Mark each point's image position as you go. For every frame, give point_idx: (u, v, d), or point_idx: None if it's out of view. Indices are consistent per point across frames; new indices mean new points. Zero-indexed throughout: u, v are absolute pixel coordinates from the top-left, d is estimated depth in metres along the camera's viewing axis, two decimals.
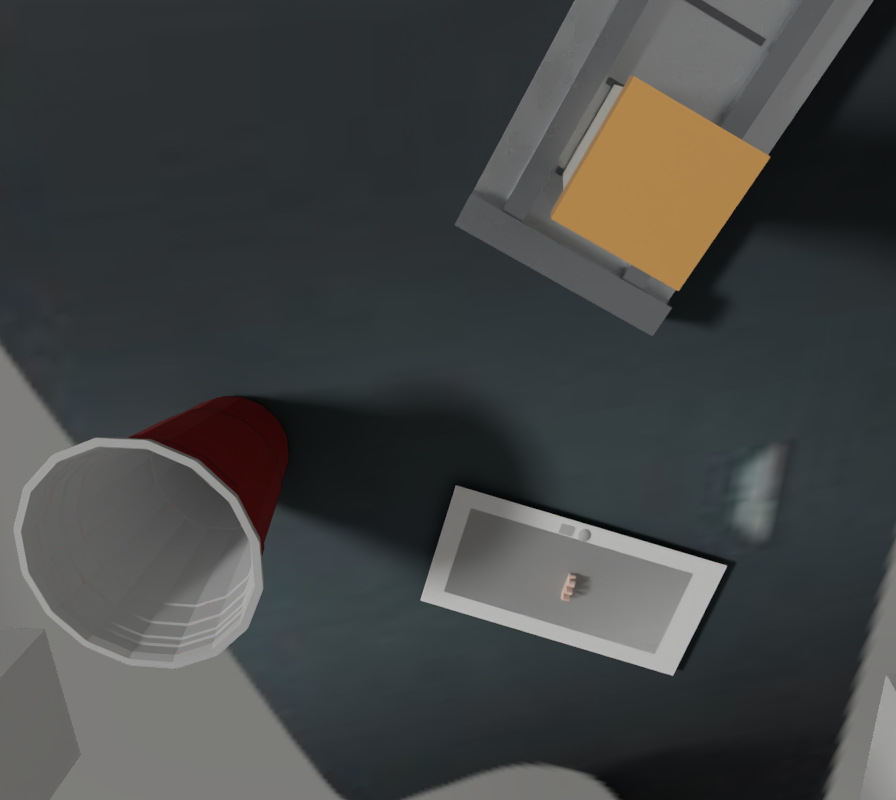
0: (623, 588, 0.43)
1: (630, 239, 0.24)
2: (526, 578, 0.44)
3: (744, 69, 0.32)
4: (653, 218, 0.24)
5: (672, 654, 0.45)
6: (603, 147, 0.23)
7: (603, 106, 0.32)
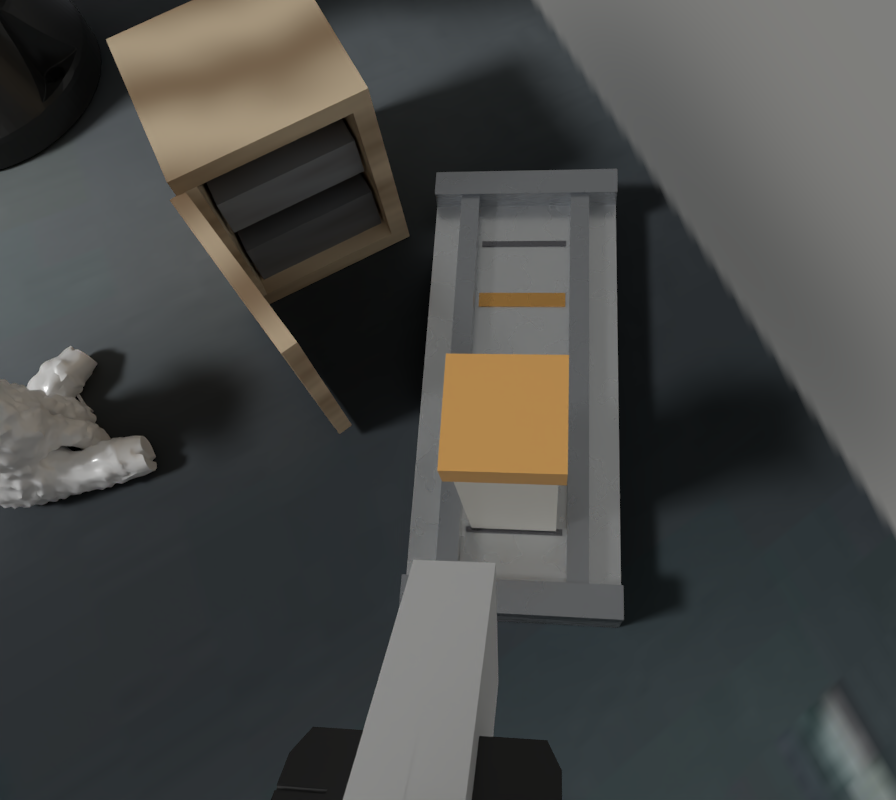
0: None
1: (506, 455, 0.28)
2: None
3: None
4: (514, 432, 0.29)
5: None
6: (449, 404, 0.29)
7: None
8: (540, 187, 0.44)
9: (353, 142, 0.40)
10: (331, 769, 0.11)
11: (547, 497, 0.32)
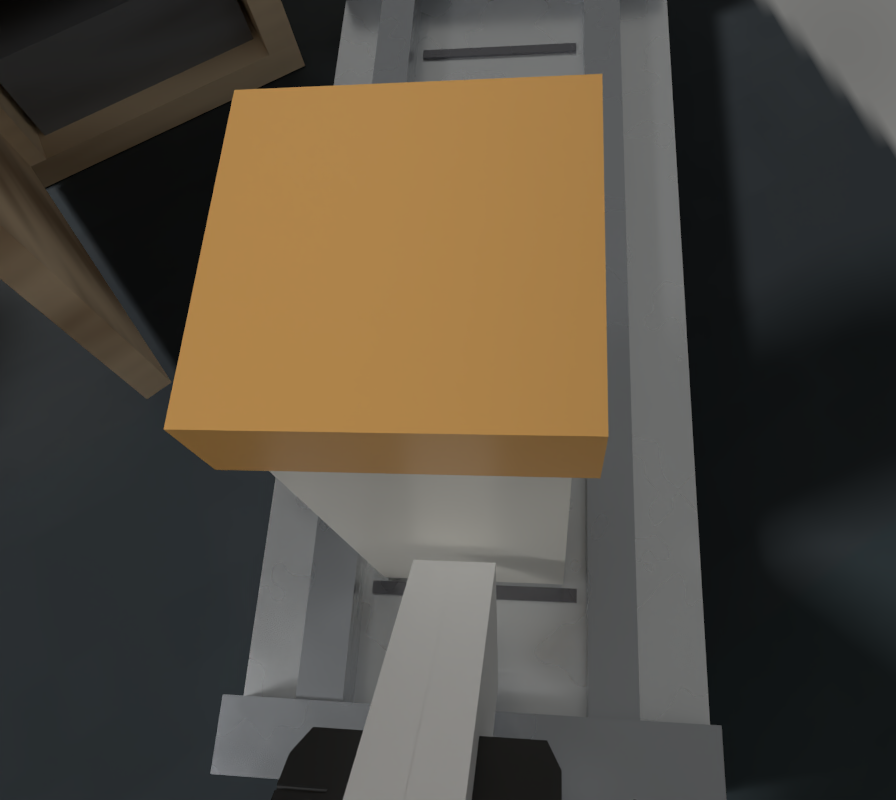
0: None
1: (396, 375, 0.08)
2: None
3: None
4: (425, 303, 0.09)
5: None
6: (229, 226, 0.09)
7: None
8: None
9: None
10: (331, 769, 0.11)
11: (541, 513, 0.12)
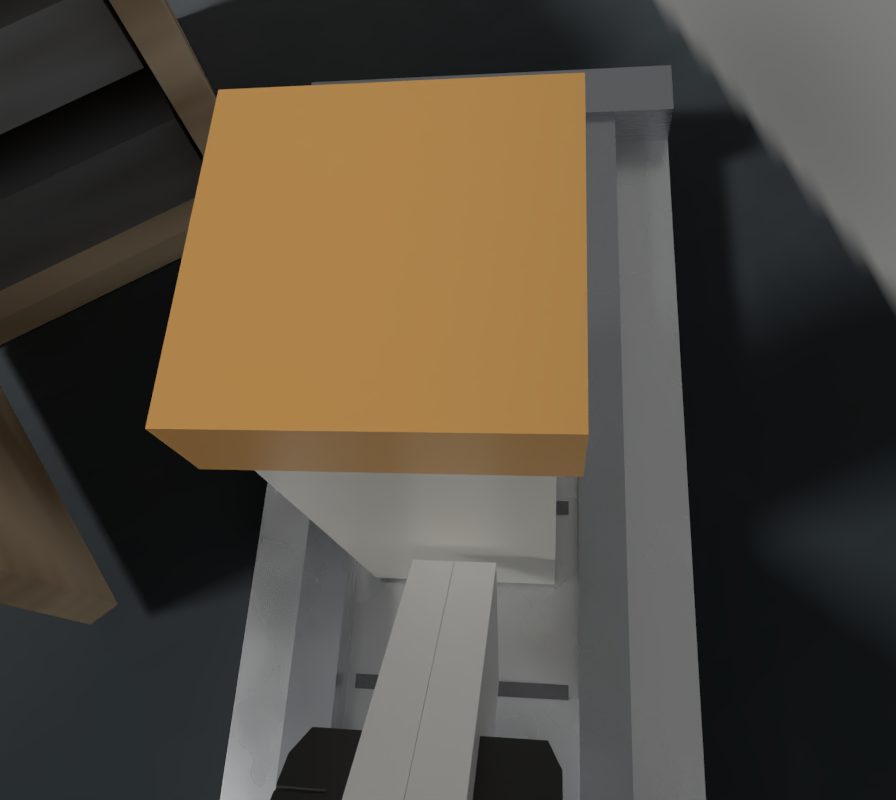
0: None
1: (377, 374, 0.08)
2: None
3: (565, 556, 0.18)
4: (407, 301, 0.09)
5: None
6: (212, 225, 0.09)
7: None
8: None
9: None
10: (330, 769, 0.11)
11: (529, 512, 0.12)
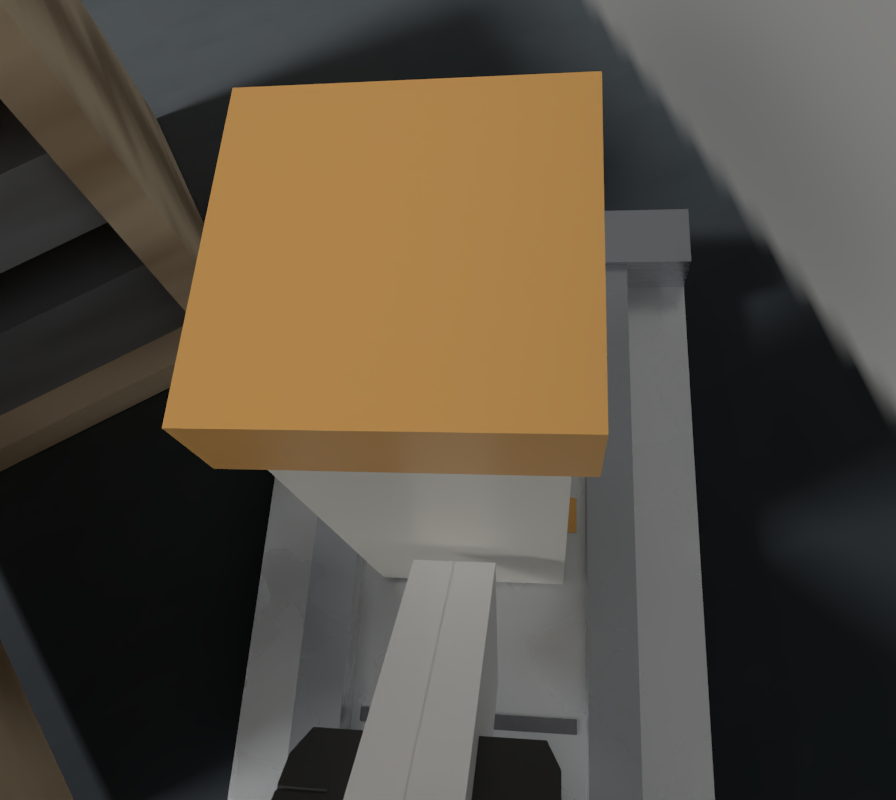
0: None
1: (395, 373, 0.08)
2: None
3: (573, 786, 0.16)
4: (424, 301, 0.09)
5: None
6: (227, 224, 0.09)
7: None
8: None
9: (49, 156, 0.16)
10: (331, 769, 0.11)
11: (541, 513, 0.12)
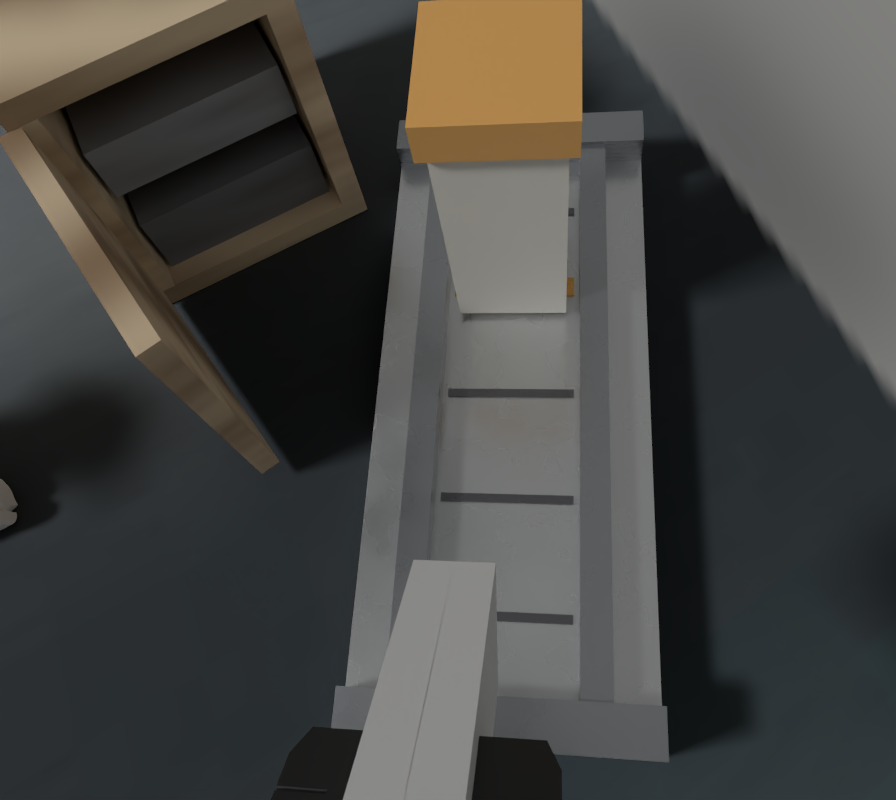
0: None
1: (498, 105, 0.21)
2: None
3: (571, 422, 0.28)
4: (508, 79, 0.21)
5: None
6: (423, 55, 0.22)
7: None
8: None
9: (276, 67, 0.29)
10: (331, 769, 0.11)
11: (555, 213, 0.24)
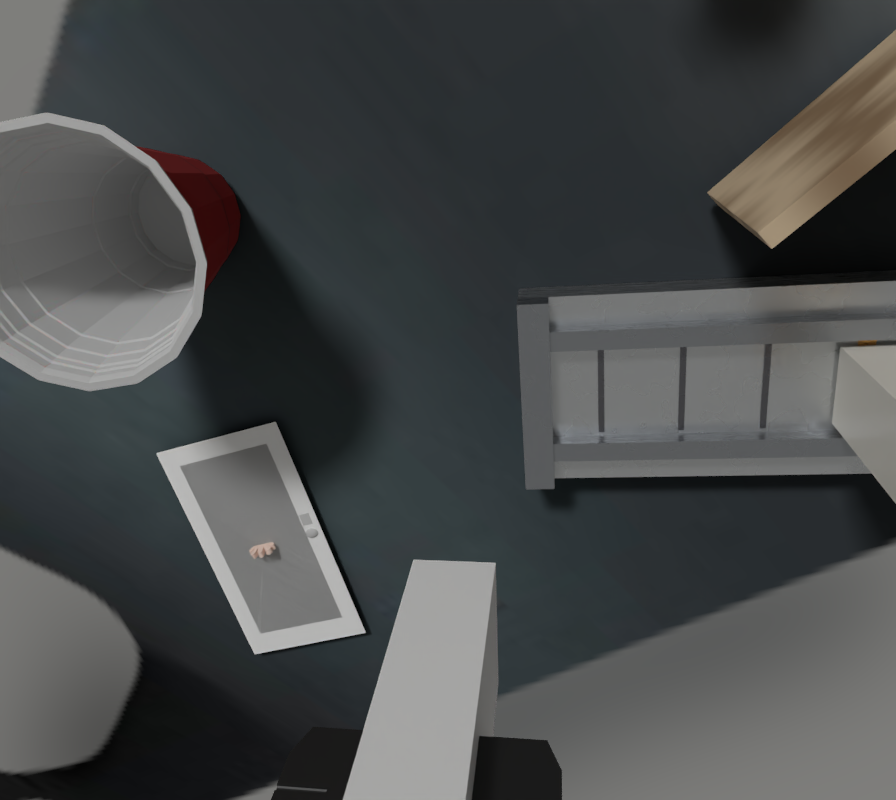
0: (293, 582, 0.49)
1: None
2: (243, 516, 0.48)
3: (739, 426, 0.40)
4: None
5: (270, 643, 0.51)
6: None
7: None
8: None
9: None
10: (331, 769, 0.11)
11: (879, 473, 0.34)
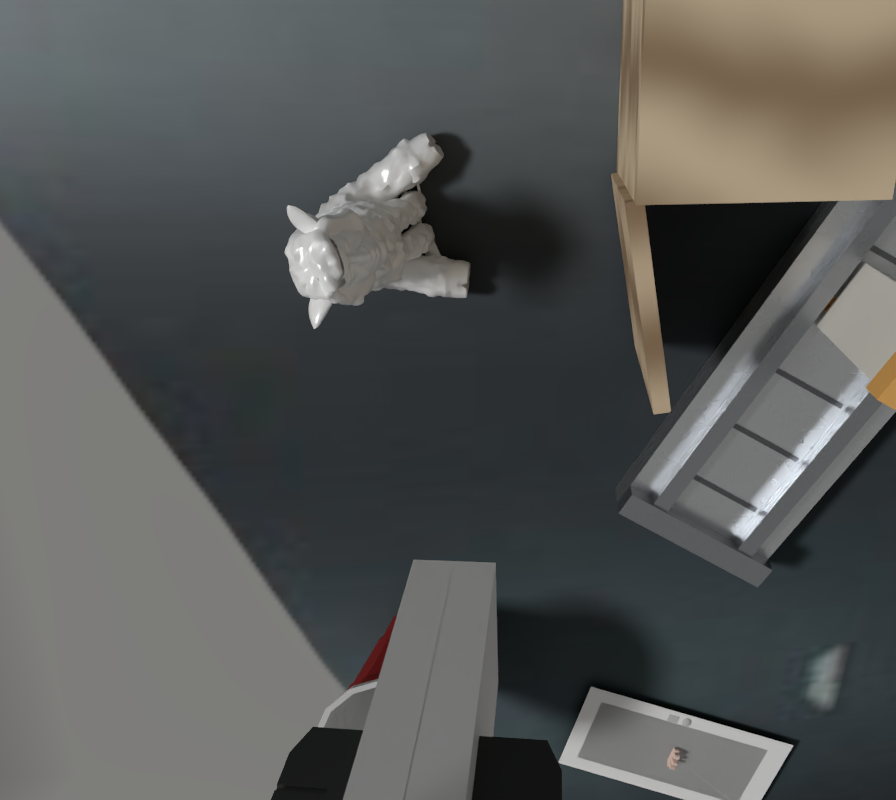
0: (714, 758, 0.58)
1: None
2: (640, 750, 0.59)
3: (827, 420, 0.46)
4: None
5: None
6: None
7: (860, 282, 0.41)
8: None
9: None
10: (331, 769, 0.11)
11: None
